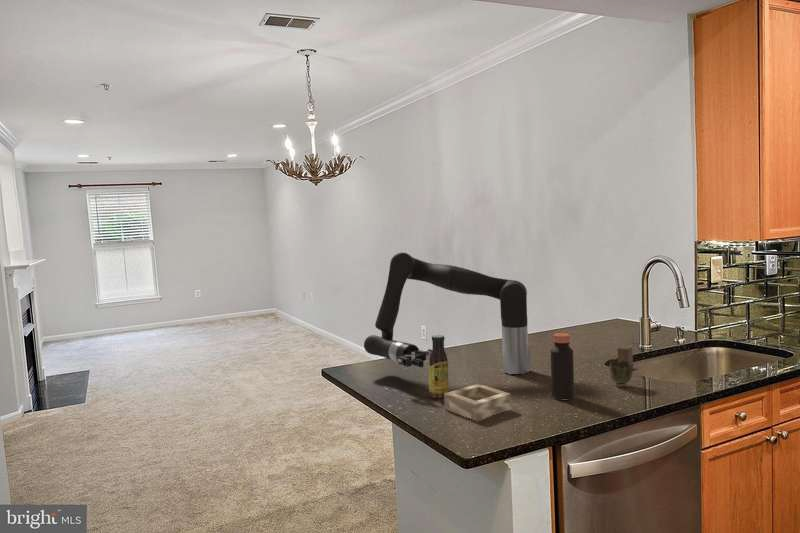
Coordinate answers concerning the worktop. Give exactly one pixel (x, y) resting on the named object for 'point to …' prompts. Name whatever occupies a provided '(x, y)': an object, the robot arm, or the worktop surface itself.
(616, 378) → the cup
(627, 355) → the wooden block
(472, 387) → the socket block
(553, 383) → the vinegar
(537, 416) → the worktop surface
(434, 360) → the sauce bottle
